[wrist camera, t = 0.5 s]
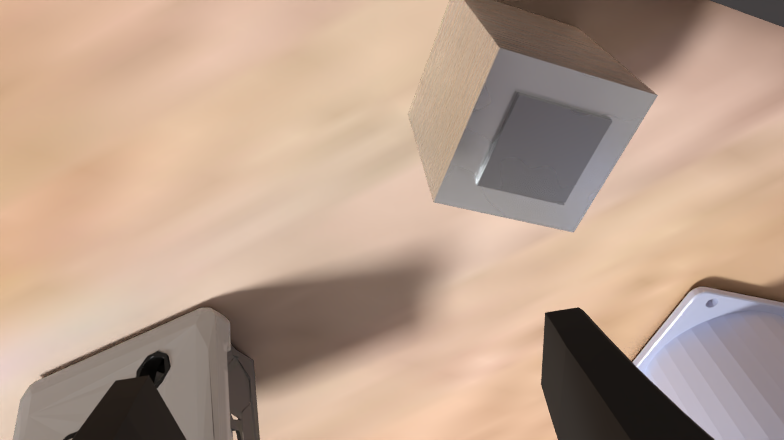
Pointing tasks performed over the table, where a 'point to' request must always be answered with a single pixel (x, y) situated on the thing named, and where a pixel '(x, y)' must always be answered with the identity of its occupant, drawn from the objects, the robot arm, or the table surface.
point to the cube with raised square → (521, 114)
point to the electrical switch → (155, 382)
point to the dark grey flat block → (759, 9)
